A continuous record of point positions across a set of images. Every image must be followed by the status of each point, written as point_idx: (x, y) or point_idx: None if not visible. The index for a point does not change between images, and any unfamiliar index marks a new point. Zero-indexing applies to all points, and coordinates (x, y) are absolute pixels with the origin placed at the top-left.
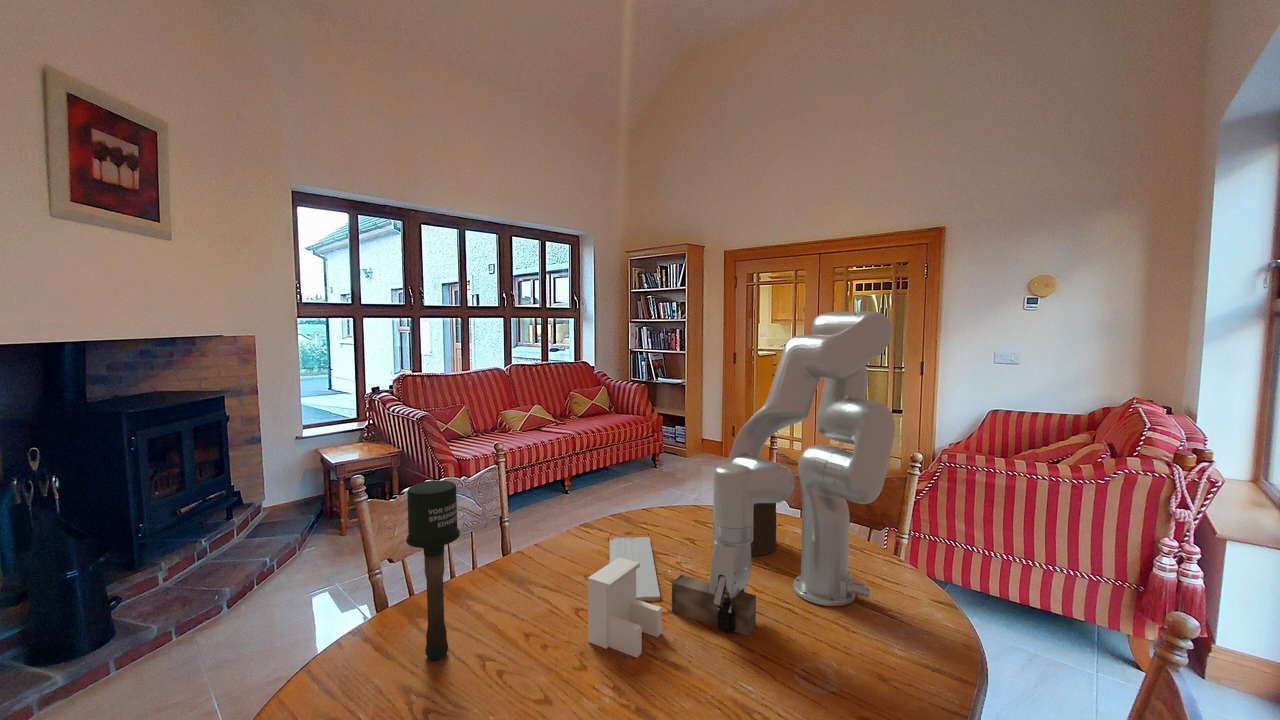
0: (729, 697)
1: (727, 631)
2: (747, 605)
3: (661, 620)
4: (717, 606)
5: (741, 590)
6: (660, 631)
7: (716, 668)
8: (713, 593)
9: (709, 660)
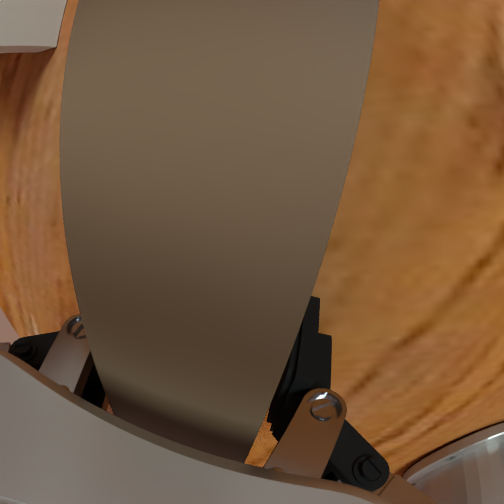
0: (4, 298)
1: None
2: None
3: (11, 46)
4: (27, 338)
5: (265, 464)
6: (42, 47)
7: (26, 270)
8: (95, 329)
9: (32, 250)
